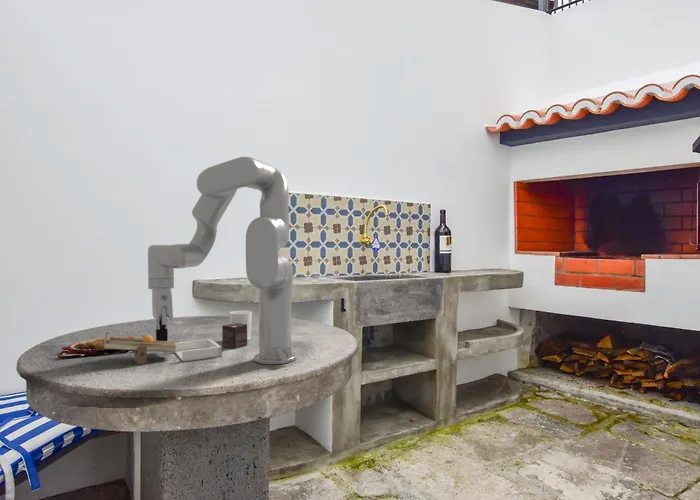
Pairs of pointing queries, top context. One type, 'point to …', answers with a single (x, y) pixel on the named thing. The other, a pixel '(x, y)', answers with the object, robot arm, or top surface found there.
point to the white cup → (242, 320)
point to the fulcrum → (140, 355)
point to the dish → (197, 350)
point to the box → (234, 335)
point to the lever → (137, 344)
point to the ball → (147, 339)
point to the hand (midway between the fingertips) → (161, 341)
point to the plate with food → (92, 346)
